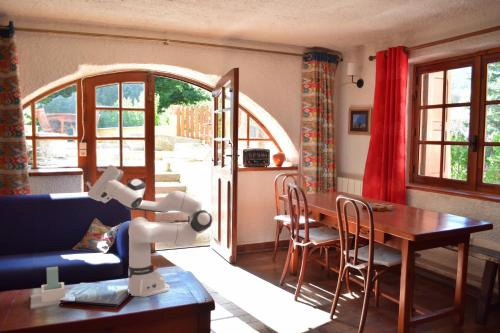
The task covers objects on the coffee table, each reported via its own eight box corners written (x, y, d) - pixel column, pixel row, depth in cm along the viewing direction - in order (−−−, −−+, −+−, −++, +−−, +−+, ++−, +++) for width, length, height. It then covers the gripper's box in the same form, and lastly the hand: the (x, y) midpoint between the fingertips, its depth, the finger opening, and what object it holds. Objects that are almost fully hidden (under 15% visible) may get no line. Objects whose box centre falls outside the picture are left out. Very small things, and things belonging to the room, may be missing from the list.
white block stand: (73, 290, 225) (72, 278, 225) (76, 302, 209) (75, 289, 209) (31, 296, 216) (30, 284, 216) (30, 309, 200) (30, 295, 200)
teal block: (58, 295, 216) (57, 266, 215) (58, 298, 211) (57, 268, 210) (47, 296, 213) (46, 267, 213) (47, 299, 209) (46, 270, 208)
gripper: (123, 170, 223) (102, 158, 225) (99, 202, 216) (78, 188, 218) (126, 174, 228) (106, 162, 231) (103, 205, 221) (82, 192, 224)
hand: (92, 175), depth 224 cm, fingers open, 8 cm apart
